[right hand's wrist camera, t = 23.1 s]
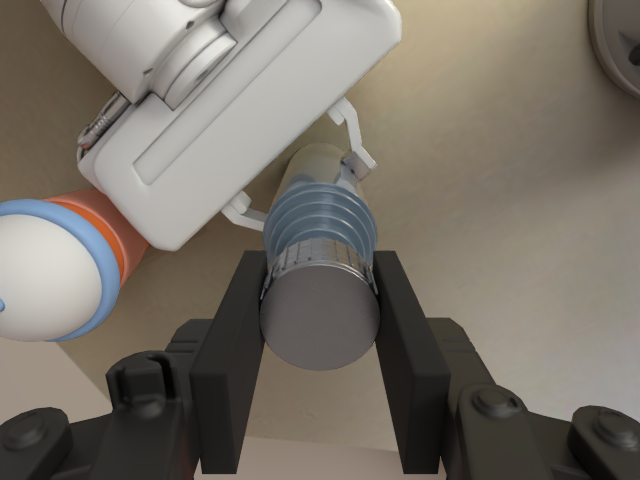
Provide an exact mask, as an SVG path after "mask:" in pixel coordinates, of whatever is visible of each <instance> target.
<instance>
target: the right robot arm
mask: <svg viewBox="0 0 640 480" xmlns="http://www.w3.org/2000/svg"><path fill="white" fill-rule="evenodd" d="M588 19H589V31H590V37H591V41H592V45H593V49H594V52H595V54H596V57H597V59H598V61H599V63H600V65H601V67H602V68H603V70H604V71H605V73H606V74H607V76H608V77H609V78H610V79H611V80H612V81H613V82H614V83H615V84H616V85H617V86H618V87H620V88H621V89H622V90H624V91H625V92H627V93H628V94H630V95H632V96H634V97H636V98H639V99H640V0H589V13H588ZM372 273H373V276H374V280H375V283H376V287H377V290H378V294H379V296H377V297H378V301H379V305H380V310H381V323H380V329H379V332H378V335H377V337H376V339H375V344H376V348H377V353H378V358H379V362H380V367H381V371H382V376H383V381H384V385H385V390H386V394H387V399H388V404H389V408H390V413H391V417H392V422H393V427H394V431H395V436H396V440H397V445H398V450H399V454H400V459H401V463H402V468H403V473H404V474H438V468H439V461H440V456H441V459H442V462H443V465H444V468H445V471H446V474H447V477H446V480H640V423H639V422H637V421H636V420H635V419H633V418H631V417H629V416H627V415H625V414H623V413H621V412H619V411H616V410H613V409H609V408H606V407H601V406H591V405H589V406H585V407H580V408H579V409H578V410H576V411H575V412H574V413H573V417H572V421H571V422H569V421H564V420H560V419H556V418H551V417H547V416H543V415H539V414H536V413H533V412H530V411H528V409H527V408H526V406H525V404H524V403H523V401H522V400H521V399H520V398H519V397H518V396H516V395H515V394H514V393H513V392H511V391H510V390H508V389H505V388H503V387H501V386H499V385H496V383H495V381H494V380H493V378H492V376H491V375H490V373H489V371H488V370H487V368H486V366H485V365H484V363H483V361H482V360H481V358H480V356H479V354H478V353H477V352H476V351H475V348H474V346H473V344H472V343H471V342H470V339H469V338H468V336H467V334H466V333H465V331H464V329H463V328H462V327H461V326H460V325H458V324H457V323H456V322H454V321H453V320H452V319H450V318H426V317H425V315H424V313H423V311H422V308H421V306H420V304H419V302H418V300H417V298H416V295H415V293H414V291H413V289H412V287H411V285H410V282H409V280H408V278H407V276H406V274H405V272H404V269H403V267H402V265H401V263H400V261H399V259H398V256H397V254H396V252H395V251H373V267H372ZM267 275H268V268H267V251H245V252H244V254H243V256H242V258H241V261H240V263H239V265H238V267H237V269H236V271H235V274H234V276H233V278H232V280H231V282H230V284H229V287H228V289H227V291H226V293H225V295H224V297H223V300H222V302H221V304H220V306H219V308H218V310H217V313H216V315H215V317H214V319H190V320H189V321H188V322H186V323H185V324H184V325H182V326H181V327H180V328H178V329H177V331H176V333H175V334H174V336H173V338H172V339H171V343H169V344H168V346H167V348H166V349H165V352H164V351H144V352H140V353H135V354H133V355H130V356H128V357H126V358H123V359H121V360H120V361H119V362H117V363H116V364H114V365H113V366H112V367H111V368H110V369H109V371H108V372H107V373H106V375H105V376H106V380H107V384H108V389H109V393H110V398H111V402H112V407H113V410H112V413H110V414H107V415H103V416H100V417H97V418H92V419H88V420H83V421H79V422H75V423H70V424H69V421H68V417H67V415H66V414H65V413H64V412H63V411H62V410H61V409H57V408H52V407H47V408H37V409H33V410H30V411H27V412H24V413H21V414H19V415H17V416H15V417H13V418H11V419H9V420H7V421H6V422H4V423H3V424H2V425H0V480H194V477H193V476H194V473H195V470H196V467H197V464H198V461H199V458H200V461H201V469H202V474H236V472H237V468H238V463H239V459H240V454H241V449H242V445H243V440H244V436H245V431H246V426H247V422H248V417H249V413H250V408H251V403H252V399H253V394H254V390H255V385H256V380H257V376H258V371H259V367H260V362H261V357H262V353H263V348H264V344H265V340H264V337H263V335H262V333H261V329H260V324H259V309H260V304H261V301H260V298H261V295H262V291H263V288H264V284H265V281H266V277H267Z"/></svg>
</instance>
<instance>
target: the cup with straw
mask: <svg viewBox="0 0 640 480" xmlns="http://www.w3.org/2000/svg"><path fill="white" fill-rule="evenodd" d="M149 245H150V243H149V242H148V241H147V240H146V239H145V238H144V237H143V236H142V235H141V234H140V233H139V232H138V231H137V230H136V229H135V228H134V227H133V226H132V225H131V224H130V223H129V222H128V220H127V219H126V218H125V217H124V216H123V215H122V214H121V212H120V211H119V210H118V209H117V208H116V206H115V205H114V204H113V203H112V202H111V200H110V199H109V198H108V197H107V195H105V194H103V193H102V192H100V191H99V190H98V189H93V190H79V191H75V192H71V193H67V194H63V195H59V196H55V197H51V198H47V199H43V200H35V199H17V200H10V201H5V202H2V203H0V336H1V337H4V338H8V339H12V340H18V341H31V342H32V341H49V342H55V341H65V340H70V339H74V338H77V337H80V336H82V335H84V334H86V333H88V332H90V331H92V330H93V329H95V328H96V327H97V326H99V325H100V324H101V323H102V322H103V321H104V320H105V319H106V318H107V317H108V316H109V314H110V313H111V311H112V310H113V308H114V306H115V304H116V302H117V299H118V295H119V290H120V288H121V287H122V286H123V284H124V283H125V282H126V280H127V279H128V278H129V276H130V275H131V274H132V272H133V271H134V270H135V268H136V267H137V265H138V264H139V263H140V261H141V259H142V257H143V255H144V252H145V251H146V249H147V248H148V246H149Z"/></svg>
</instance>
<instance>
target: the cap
mask: <svg viewBox="0 0 640 480" xmlns="http://www.w3.org/2000/svg"><path fill="white" fill-rule="evenodd" d="M377 296H379V294H378V290H377V287H376V283H375V280H374V276H373V273H372V271H371V272H370V269H369V266H368V262H367V261H365V260H364V259H363V258H362V257H361V255H360V253H359V252H356V251H355V250H354V249H353V248H351V247H350V245H346V244H344V243H342V242H339V241H338V240H332V239H325V238H316V239H312V238H309V239H308V240H304V241H301V242H299V241H298V242H297V243H296V244H294V245H292V246H290V247H289V248H286V249H285V251H284V252H282V253H281V254H280V255H279V256H277V257H276V260H275V262H274V263H273V265H272V266H270V268H269V272H268V275H267V277H266V281H265V284H264V288H263V291H262V295H261V298H260V301H261V304H260V309H259V324H260V329H261V333H262V335H263V337H264V340H265V341H266V343H267V344H268V346H269V347H270V348H271V350H272V351H273V352H274V353H275V354H276V355H278V356H279V357H280V358H281V359H283V360H284V361H286V362H288V363H290V364H292V365H294V366H297V367H300V368H304V369H309V370H319V371H320V370H331V369H336V368H340V367H343V366H346V365H348V364H350V363H352V362H354V361H356V360H357V359H358V358H360V357H361V356H362V355H363V354H365V353H366V352H367V351H368V349H369V348H370V347H371V346H372V344H373V343H374V341H375V339H376V337H377V335H378V332H379V329H380V323H381V310H380V305H379V301H378V297H377Z"/></svg>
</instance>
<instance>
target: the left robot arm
mask: <svg viewBox="0 0 640 480" xmlns="http://www.w3.org/2000/svg"><path fill="white" fill-rule="evenodd" d="M39 1H40V2H41V3H42V4H43V5H44V7H45V8H46V9H47V11H48V12H49V14H50V16H51V17H52V19H53V21H54V23H55V24H56V26H57V27H58V29H59V30H60V31H61V32H62V34H63V35H64V36H65V37H66V38H67V39H68V40H69V41H70V42H71V43H72V44H73V45H74V46H75V47H76V48H77V49H78V50H79V51H80V52H81V53H82V54H83V55H84V56H85V57H86V58H87V59H88V60H89V61H90V62H91V63H92V64H93V65H94V66H95V67H96V68H97V69H98V70H99V71H100V72H101V73H102V74H103V75H104V76H105V77H106V78H107V79H108V80H109V81H110V82H111V83H112V84H113V85H114V86H115V87H116V88H117V89H118V90H117V91H115V93H114V94H113V95H112V96H111V98H110V99H109V100H108V101H107V102H106V103H105V104H104V106H103V107H102V108H101V110H100V111H99V113H98V114H97V116H96V117H95V118H94V120H93V121H92V122H91V123H90V124H88V125H86V126H85V127H84V128H83V129H82V130H81V132H80V133H79V135H78V137H77V139H76V142H77V143H78V145H79V146H78V148H77V152H76V159H77V164H78V165H77V166H78V169H79V171H80V173H81V174H82V175H83V176H84V177H85V178H86V179H87V180H88V181H89V182H90V183H91V184H92V185H93V186H95V187H96V188H97V189H98V190H99V191H100V192H102V193H103V194H105V195H107V197H108V198H109V199H110V200H111V202H112V203H113V204H114V205H115V206H116V208H117V209H118V210H119V211H120V212H121V214H122V215H123V216H124V217H125V218H126V219H127V220H128V222H129V223H130V224H131V225H132V226H133V227H134V228H135V229H136V230H137V231H138V232H139V233H140V234H141V235H142V236H143V237H144V238H145V239H146V240H147V241H148V242H149V243H150V244H151V245H152V246H153V247H155V248H157V249H161V250H166V251H177V250H178V249H179V248H180V247H182V246H183V245H184V244H185V243H186V242H187V241H188V240H189V239H190V238H191V237H192V236H193V235H194V234H195V233H197V232H198V231H199V230H200V229H201V228H202V227H203V226H204V225H205V224H206V223H207V222H208V221H209V220H210V219H212V218H213V217H214V216H215V215H216V214H217V213H218V212H219V211H221V212H222V213H223V214H224V215H225V216H226V217H227V218H228V219H229V220H230V221H231V222H232V223H233V224H237V225H240V226H244V227H247V228H251V229H254V230H258V231H262V232H263V227H264V223H265V220H266V217H267V214H266V213H263V212H260V211H257V210H254V209H251V208H248V207H249V206H250V204H251V202H252V200H251V199H250V198H249V197H248V196H247V195H246V194H245V192H244V191H243V189H244V188H245V187H246V186H247V185H248V184H249V183H250V182H251V181H252V180H253V179H254V178H255V177H256V176H257V175H259V174H260V173H261V172H262V171H263V170H264V169H265V168H266V167H267V166H268V165H269V164H270V163H271V162H272V161H274V160H275V159H276V158H277V157H278V156H279V155H280V154H281V153H282V152H283V151H284V150H285V149H286V148H287V147H288V146H290V145H291V144H292V143H293V142H294V141H295V140H296V139H297V138H298V137H299V136H300V135H301V134H302V133H303V132H305V131H306V130H307V129H308V128H309V127H310V126H311V125H312V124H313V123H314V122H315V121H316V120H317V119H318V118H319V117H321V116H322V115H323V114H324V113H325V112H326V113H327V114H328V115H329V116H330V118H331V119H332V120H333V121H334V122H335V123H336V124H337V125H341V124H342V123H343V122H344V119H345V124H346V129H347V135H348V140H349V145H350V149H349V150H348V151H347V152H346V153H345V154H344V155H343V156H342V157H341V158H342V161H343V162H344V163H345V165H346V166H347V167H348V168H349V169H351V170H353V172H354V174H355V176H356V177H357V178H358V179H359V180H360V181H361V180H362V179H364V178H365V177H366V176H367V175H368V174H370V173H371V172H372V171H373V170H374V169H375V168H377V167H378V165H377V164H376V163H375V161H374V160H373V159H372V158H371V156H370V155H369V154H368V153H367V152H366V150H365V149H364V148H363V147H362V146H361V144H362V141H361V135H360V129H359V123H358V117H357V112H356V110H355V109H354V107H353V106H352V105H351V104H350V103H349V101H348V100H347V99H346V98H345V96H344V94H345V93H346V92H347V91H348V90H349V89H351V88H352V87H353V86H354V85H355V84H356V83H357V82H358V81H359V80H360V79H361V78H362V77H363V76H364V75H365V74H367V73H368V72H369V71H370V70H371V69H372V68H373V67H374V66H375V65H376V64H377V63H378V62H379V61H380V60H382V59H383V58H384V57H385V56H386V55H387V54H388V53H389V52H390V51H391V50H392V49H393V48H394V47H395V46H396V45H397V44H399V42H400V41H401V36H402V19H401V15H400V13H399V11H398V10H397V8H396V7H395V6H394V4H393V3H392V2H391V0H39ZM85 149H86V150H90V151H89V152H88V153H87V154H86V155H85V156H84V151H85Z"/></svg>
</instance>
